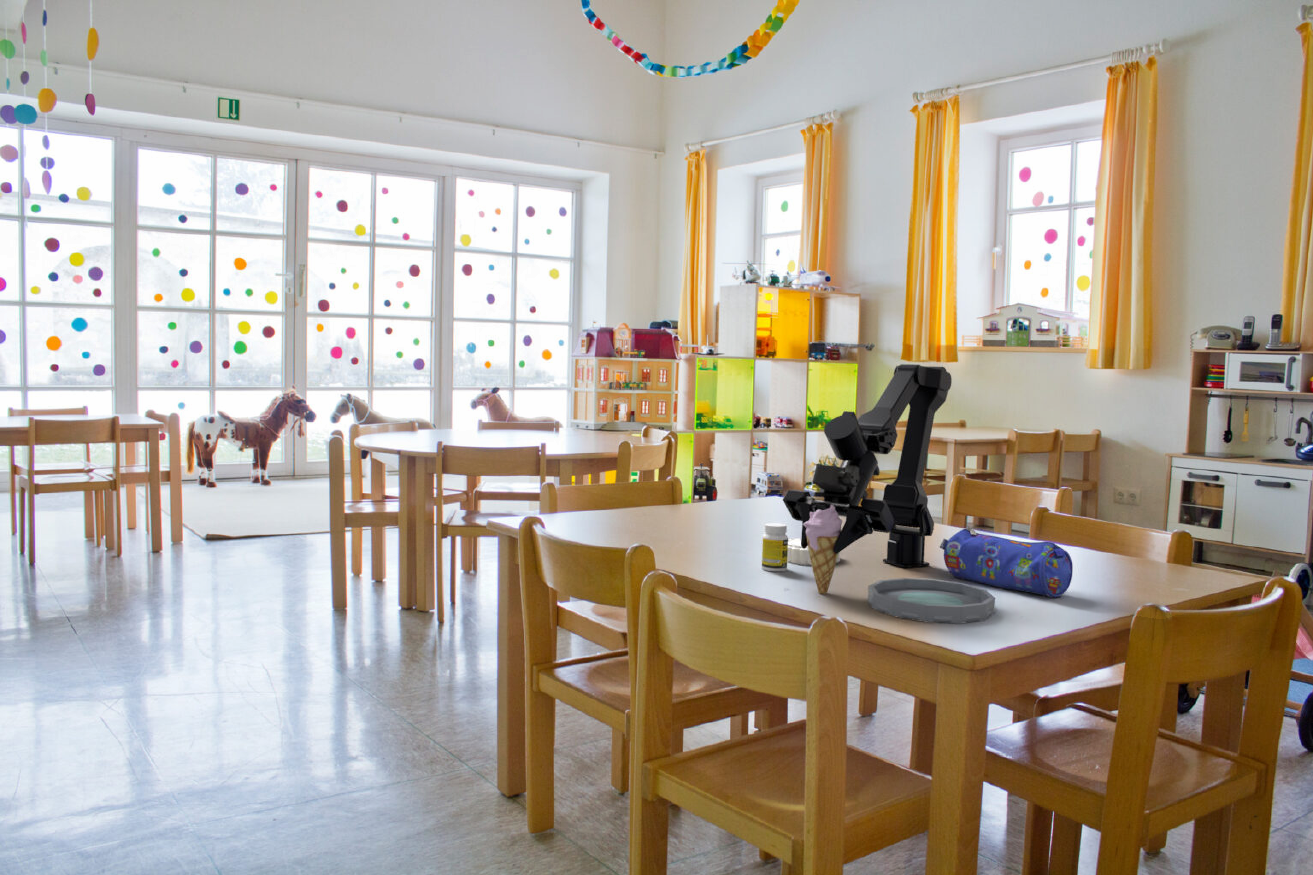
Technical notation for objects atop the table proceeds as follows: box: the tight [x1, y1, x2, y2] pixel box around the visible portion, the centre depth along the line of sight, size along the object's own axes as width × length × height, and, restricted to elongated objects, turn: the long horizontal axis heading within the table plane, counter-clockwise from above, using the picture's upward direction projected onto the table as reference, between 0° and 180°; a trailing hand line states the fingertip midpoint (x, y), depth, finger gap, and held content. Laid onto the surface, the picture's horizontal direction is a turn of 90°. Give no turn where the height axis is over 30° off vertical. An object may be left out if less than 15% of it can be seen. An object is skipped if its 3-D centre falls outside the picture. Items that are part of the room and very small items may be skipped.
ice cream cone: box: [803, 505, 843, 595], centre depth 161 cm, size 7×6×15 cm
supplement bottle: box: [761, 522, 789, 572], centre depth 180 cm, size 5×5×8 cm
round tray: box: [867, 577, 996, 624], centre depth 154 cm, size 19×19×2 cm
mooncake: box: [787, 537, 841, 566], centre depth 191 cm, size 12×12×4 cm
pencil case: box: [939, 526, 1074, 599], centre depth 170 cm, size 22×9×10 cm, turn 37°
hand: (818, 549), depth 160 cm, fingers closed on ice cream cone, 6 cm apart
